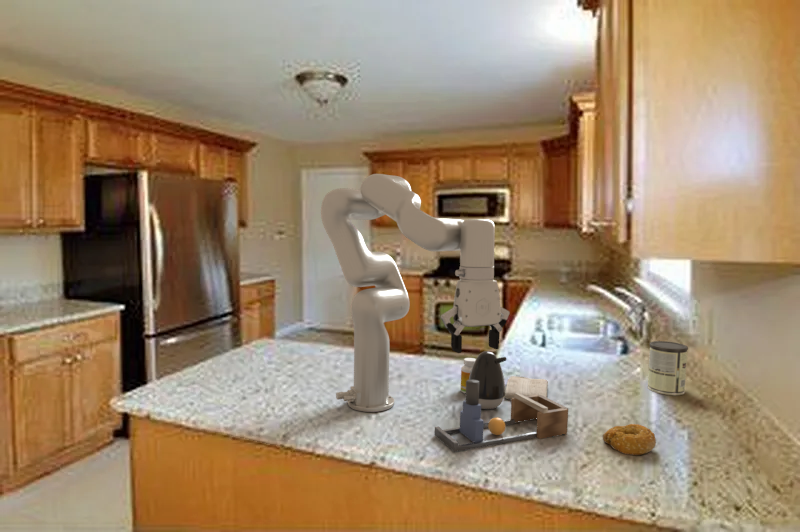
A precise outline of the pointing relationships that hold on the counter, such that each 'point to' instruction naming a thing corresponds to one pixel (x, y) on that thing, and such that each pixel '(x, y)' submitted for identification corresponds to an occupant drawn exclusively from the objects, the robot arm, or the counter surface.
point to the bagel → (630, 439)
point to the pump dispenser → (489, 379)
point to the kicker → (472, 413)
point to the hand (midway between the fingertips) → (475, 349)
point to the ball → (496, 426)
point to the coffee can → (667, 367)
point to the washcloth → (525, 387)
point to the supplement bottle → (466, 372)
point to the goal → (540, 414)
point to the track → (454, 446)
